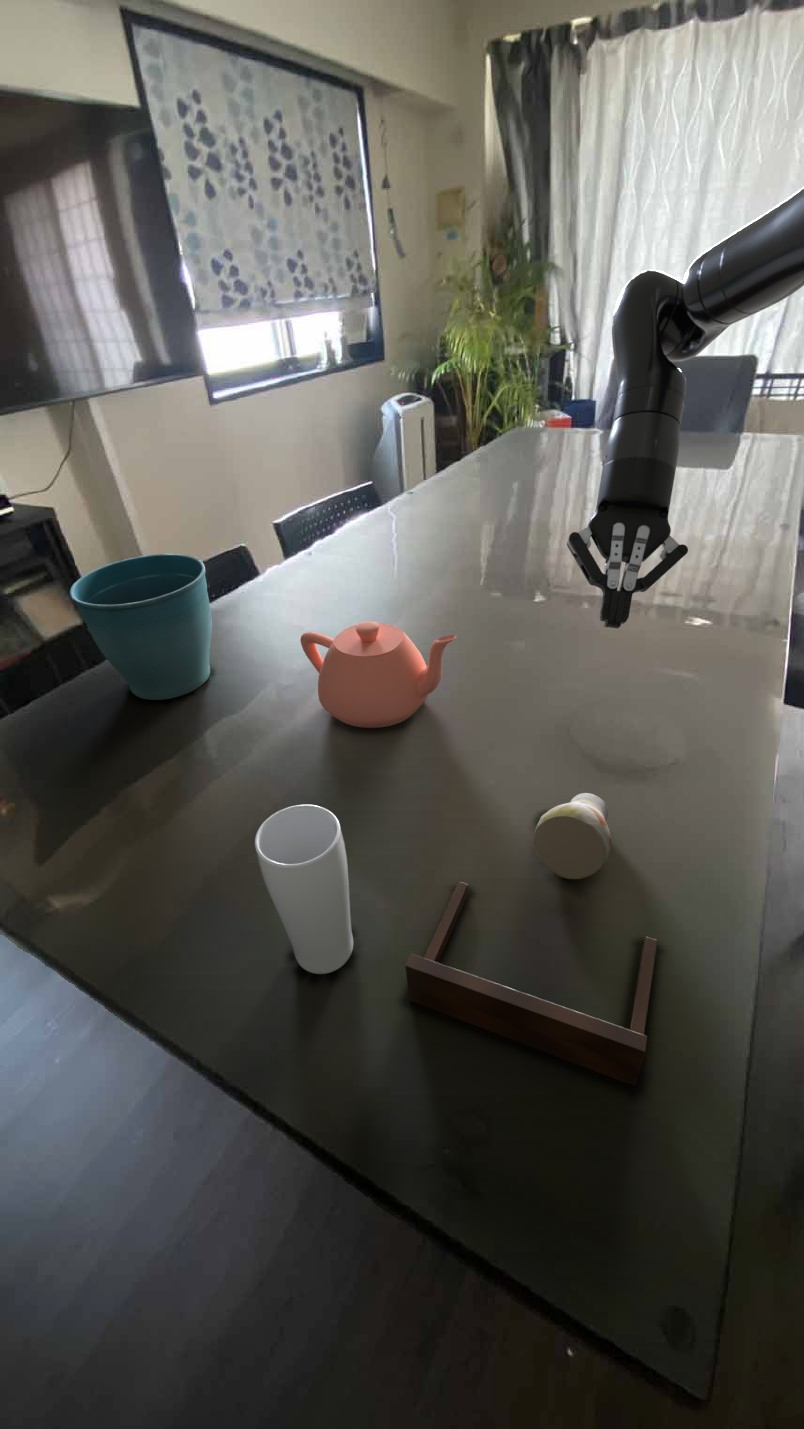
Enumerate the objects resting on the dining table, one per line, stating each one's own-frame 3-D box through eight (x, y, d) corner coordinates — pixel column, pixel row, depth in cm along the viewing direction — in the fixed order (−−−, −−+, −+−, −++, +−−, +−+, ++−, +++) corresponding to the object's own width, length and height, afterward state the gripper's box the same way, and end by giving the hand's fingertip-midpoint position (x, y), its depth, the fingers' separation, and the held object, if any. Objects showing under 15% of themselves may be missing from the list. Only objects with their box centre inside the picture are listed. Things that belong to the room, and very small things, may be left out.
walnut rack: (654, 950, 55) (664, 913, 52) (635, 1086, 46) (645, 1052, 44) (458, 891, 62) (457, 855, 59) (409, 1000, 53) (405, 965, 50)
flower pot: (172, 642, 109) (142, 546, 99) (255, 663, 101) (231, 560, 91) (85, 697, 96) (40, 593, 86) (172, 725, 89) (134, 614, 79)
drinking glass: (335, 997, 54) (307, 880, 45) (272, 965, 57) (234, 849, 48) (376, 935, 59) (358, 818, 50) (316, 908, 61) (289, 793, 53)
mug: (622, 820, 68) (643, 793, 59) (581, 900, 65) (596, 884, 56) (558, 786, 70) (569, 755, 61) (516, 862, 68) (520, 841, 59)
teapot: (472, 686, 91) (471, 608, 84) (441, 750, 80) (437, 666, 73) (332, 667, 98) (321, 594, 91) (286, 724, 87) (269, 645, 80)
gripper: (580, 448, 66) (553, 612, 67) (713, 460, 64) (685, 630, 65) (572, 475, 74) (548, 623, 74) (692, 487, 72) (666, 639, 72)
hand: (612, 626), depth 69 cm, fingers closed
